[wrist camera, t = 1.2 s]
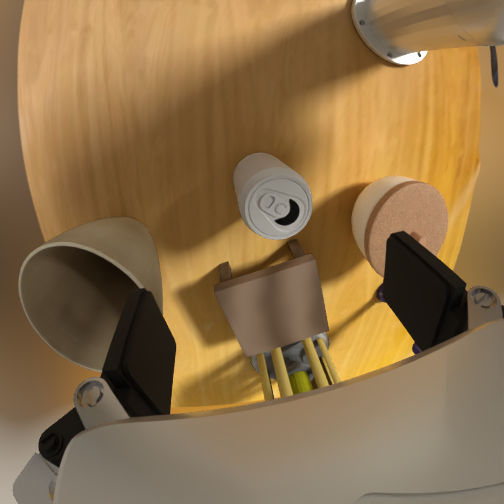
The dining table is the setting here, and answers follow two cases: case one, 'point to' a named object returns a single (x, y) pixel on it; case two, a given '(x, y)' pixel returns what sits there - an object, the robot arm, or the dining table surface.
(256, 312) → the small brown table
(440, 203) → the lidded bowl
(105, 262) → the plant pot
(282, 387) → the lantern
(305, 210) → the beverage can
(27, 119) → the dining table surface
